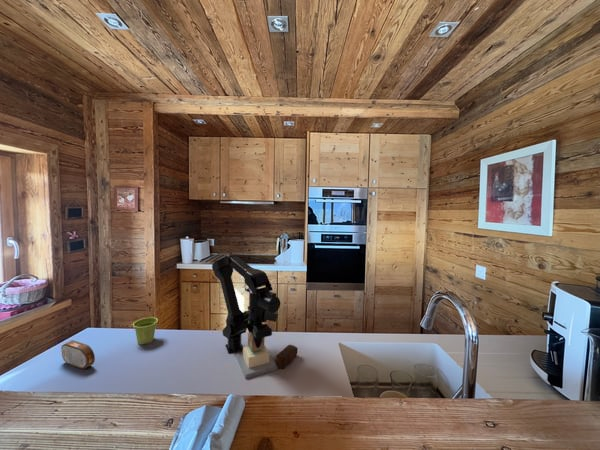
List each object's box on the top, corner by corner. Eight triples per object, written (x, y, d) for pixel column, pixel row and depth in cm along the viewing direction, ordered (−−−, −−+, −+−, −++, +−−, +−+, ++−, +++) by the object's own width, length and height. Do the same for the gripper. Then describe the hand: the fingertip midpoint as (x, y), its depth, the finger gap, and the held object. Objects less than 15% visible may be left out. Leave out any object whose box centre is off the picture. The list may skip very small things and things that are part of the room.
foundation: (235, 357, 100) (236, 343, 99) (264, 350, 105) (264, 337, 105) (245, 378, 87) (245, 363, 87) (276, 369, 93) (277, 354, 93)
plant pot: (162, 337, 114) (162, 318, 113) (145, 348, 104) (145, 328, 104) (145, 334, 116) (145, 316, 115) (127, 345, 107) (127, 325, 106)
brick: (283, 370, 93) (284, 358, 92) (274, 367, 94) (275, 355, 94) (297, 356, 102) (298, 345, 102) (289, 353, 104) (289, 342, 103)
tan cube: (247, 344, 97) (248, 332, 97) (260, 342, 99) (260, 330, 99) (251, 351, 93) (251, 338, 92) (264, 348, 95) (264, 335, 95)
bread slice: (96, 367, 91) (95, 345, 91) (86, 372, 88) (85, 349, 88) (69, 358, 96) (69, 337, 96) (59, 363, 93) (59, 341, 93)
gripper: (285, 310, 90) (284, 351, 91) (268, 294, 107) (267, 329, 108) (256, 315, 85) (255, 359, 86) (242, 297, 102) (241, 334, 103)
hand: (255, 344), depth 96 cm, fingers closed on tan cube, 5 cm apart
